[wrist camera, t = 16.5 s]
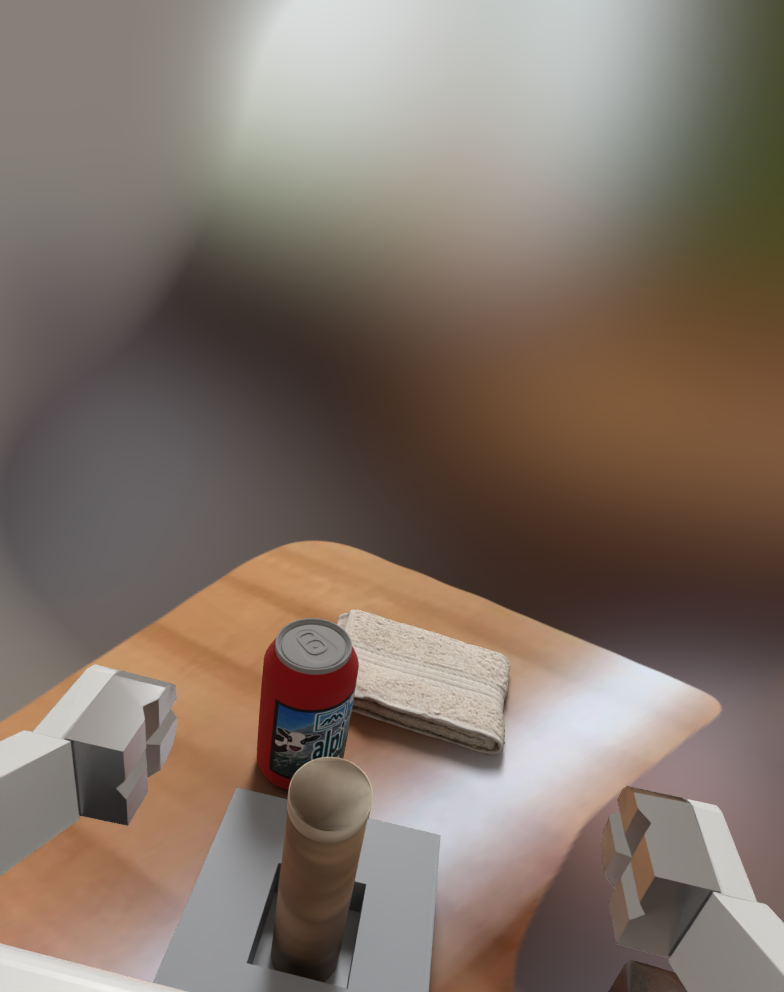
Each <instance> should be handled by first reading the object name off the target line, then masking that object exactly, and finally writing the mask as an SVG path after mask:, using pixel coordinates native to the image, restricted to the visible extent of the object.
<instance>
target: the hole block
mask: <svg viewBox="0 0 784 992" xmlns="http://www.w3.org/2000/svg"><path fill="white" fill-rule="evenodd" d="M287 800H288V799H284V798H280V797H276V796H271V795H267V794H263V793H259V792H254V791H250V790H246V789H241V788H236V790H235V792H234V795H233V797H232V799H231V802H230V804H229V806H228V809H227V811H226V813H225V816H224V818H223V820H222V823H221V825H220V827H219V830H218V832H217V834H216V837H215V839H214V841H213V844H212V846H211V848H210V851H209V853H208V855H207V858H206V860H205V862H204V865H203V867H202V869H201V872H200V874H199V877H198V879H197V881H196V884H195V886H194V888H193V891H192V893H191V895H190V898H189V900H188V902H187V905H186V907H185V909H184V912H183V914H182V916H181V919H180V921H179V923H178V926H177V928H176V930H175V933H174V935H173V937H172V940H171V942H170V944H169V947H168V949H167V951H166V954H165V956H164V958H163V961H162V963H161V965H160V968H159V970H158V972H157V975H156V977H155V979H154V982H153V983H157V984H161V985H165V986H168V987H172V988H176V989H180V990H184V991H188V992H429V980H430V967H431V954H432V940H433V927H434V914H435V900H436V887H437V874H438V860H439V847H440V835H437V834H433V833H429V832H425V831H420V830H416V829H412V828H408V827H403V826H399V825H395V824H391V823H386V822H382V821H378V820H374V819H369V818H368V820H367V824H366V829H365V834H364V839H363V844H362V848H361V853H360V858H359V863H358V868H357V872H356V877H355V882H354V887H353V892H352V897H351V901H350V906H349V911H348V916H347V921H346V925H345V930H344V935H343V940H342V945H341V949H340V954H339V959H338V963H337V965H336V968H335V970H334V971H333V973H332V974H331V976H330V977H329V978H328V979H327V980H326V981H325V982H324V983H323V982H319V981H316V980H312V979H308V978H304V977H300V976H296V975H292V974H288V973H284V972H280V971H276V970H275V969H274V967H273V963H272V958H271V949H272V940H273V931H274V922H275V914H276V905H277V896H278V888H279V879H280V870H281V861H282V853H283V844H284V835H285V826H286V818H287Z"/></svg>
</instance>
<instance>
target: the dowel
mask: <svg viewBox="0 0 784 992" xmlns="http://www.w3.org/2000/svg"><path fill="white" fill-rule="evenodd" d="M372 799H373V791H372V786H371V783H370V781H369V779H368V777H367V776H366V774H365V773H364V772H363V771H362V770H361V769H360V768H359V767H358V766H357V765H355V764H354V763H352V762H350V761H348V760H345V759H342V758H337V757H322V758H317V759H314V760H312V761H309V762H308V763H306V764H304V765H303V766H302V767H301V768H299V769H298V770H297V772H296V773H295V774H294V776H293V778H292V780H291V782H290V785H289V791H288V800H287V818H286V826H285V835H284V844H283V853H282V861H281V870H280V879H279V888H278V896H277V905H276V914H275V922H274V931H273V940H272V949H271V958H272V963H273V967H274V969H275V970H276V971H280V972H284V973H288V974H292V975H296V976H300V977H304V978H308V979H312V980H316V981H319V982H323V983H324V982H325V981H326V980H327V979H328V978H329V977H330V976H331V974H332V973H333V971H334V970H335V968H336V965H337V963H338V959H339V954H340V949H341V945H342V940H343V935H344V930H345V925H346V921H347V916H348V911H349V906H350V901H351V897H352V892H353V887H354V882H355V877H356V872H357V868H358V863H359V858H360V853H361V848H362V844H363V839H364V834H365V829H366V824H367V820H368V818H369V814H370V810H371V805H372Z"/></svg>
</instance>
